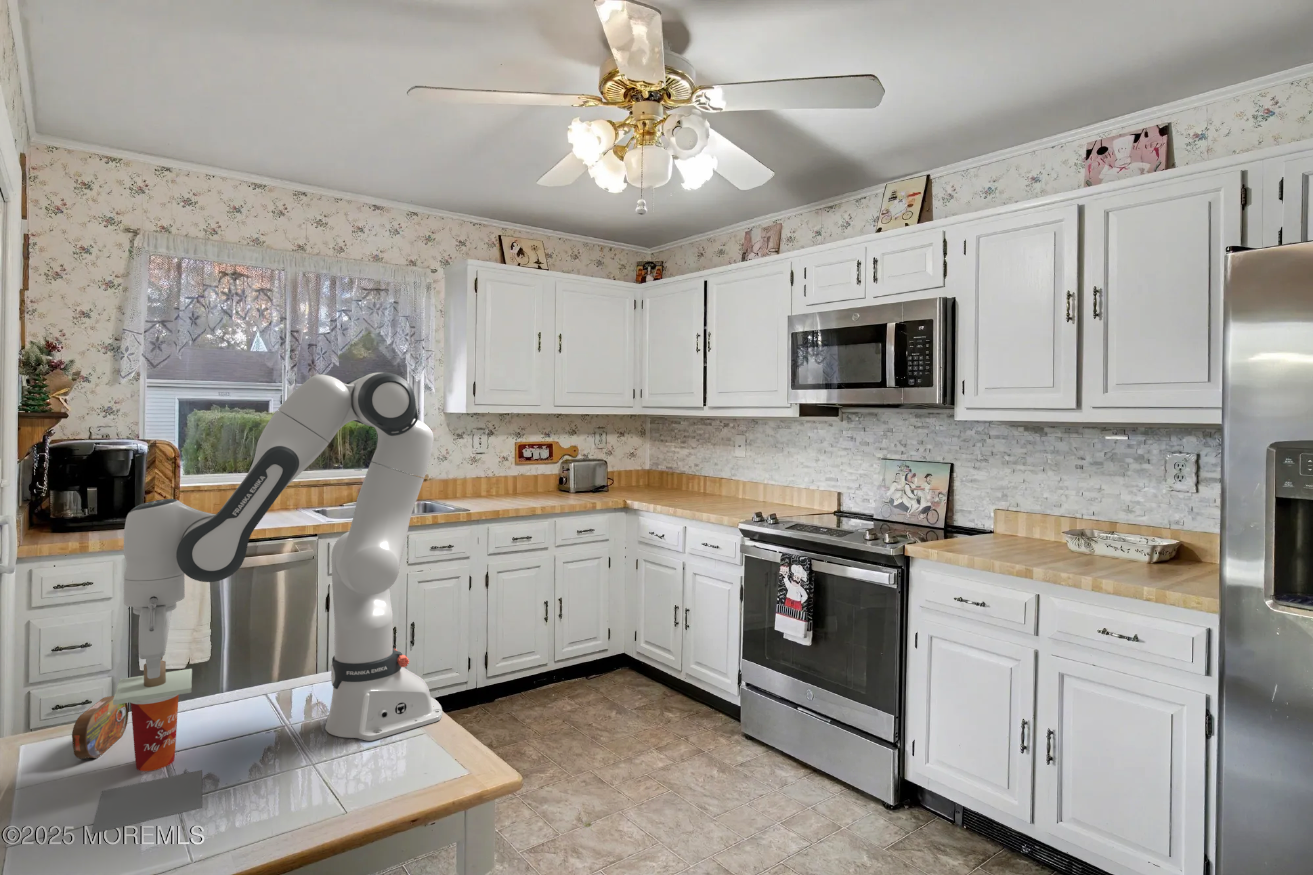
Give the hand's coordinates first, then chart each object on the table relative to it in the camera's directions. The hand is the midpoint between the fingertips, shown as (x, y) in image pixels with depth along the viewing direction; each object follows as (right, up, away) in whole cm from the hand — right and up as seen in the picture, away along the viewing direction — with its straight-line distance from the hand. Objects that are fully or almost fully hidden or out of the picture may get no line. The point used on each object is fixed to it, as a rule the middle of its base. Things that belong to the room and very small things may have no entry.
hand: (155, 668), depth 128 cm
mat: (+7, -18, -11) cm, 22 cm away
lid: (0, -4, 0) cm, 4 cm away
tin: (-15, -17, +7) cm, 24 cm away
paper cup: (0, -18, +1) cm, 18 cm away
